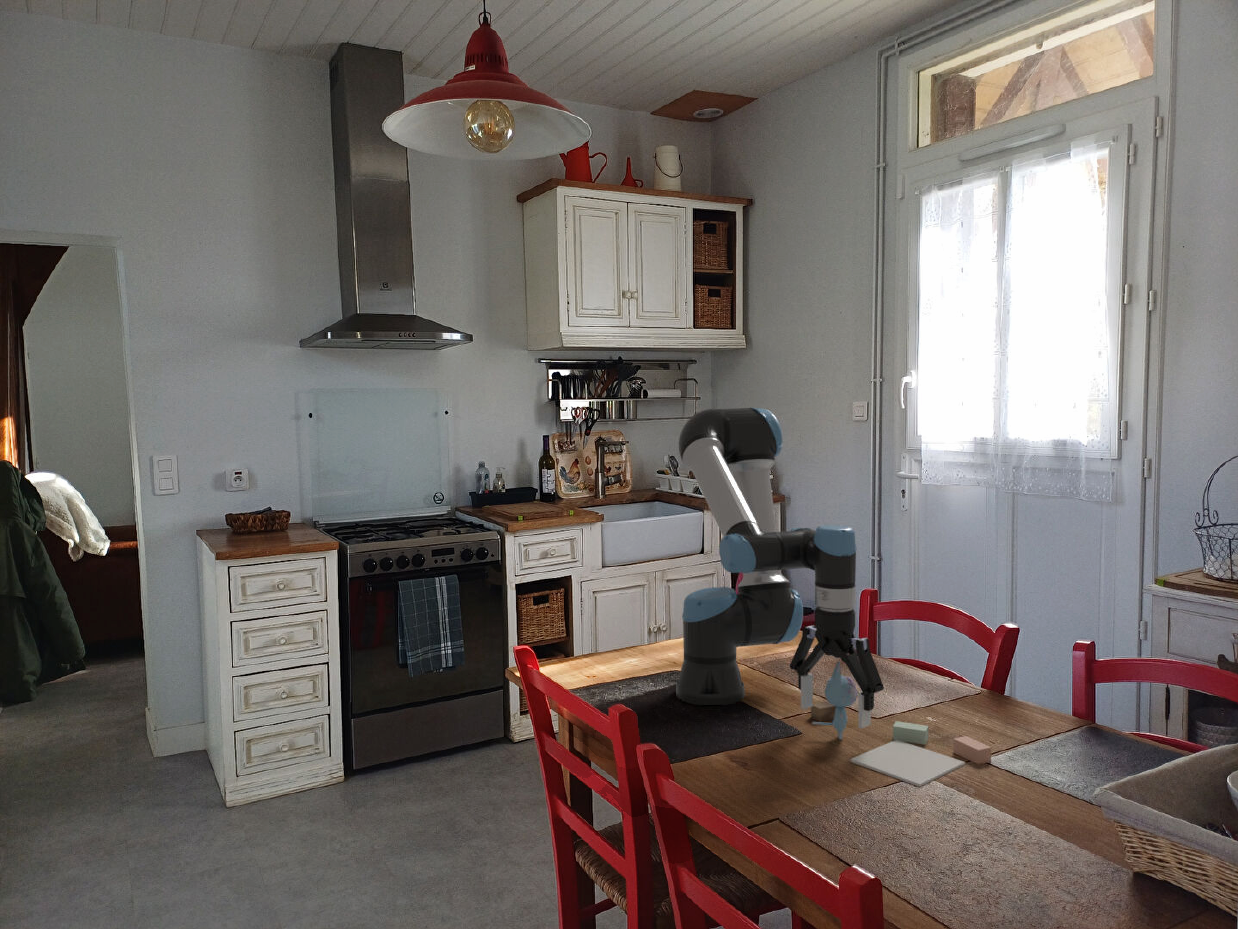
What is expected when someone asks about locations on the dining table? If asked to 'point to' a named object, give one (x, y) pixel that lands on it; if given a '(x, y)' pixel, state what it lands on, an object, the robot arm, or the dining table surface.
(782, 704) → the dining table surface
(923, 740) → the brick
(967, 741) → the brick
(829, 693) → the toy
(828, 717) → the brick
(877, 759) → the tile
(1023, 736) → the dining table surface
